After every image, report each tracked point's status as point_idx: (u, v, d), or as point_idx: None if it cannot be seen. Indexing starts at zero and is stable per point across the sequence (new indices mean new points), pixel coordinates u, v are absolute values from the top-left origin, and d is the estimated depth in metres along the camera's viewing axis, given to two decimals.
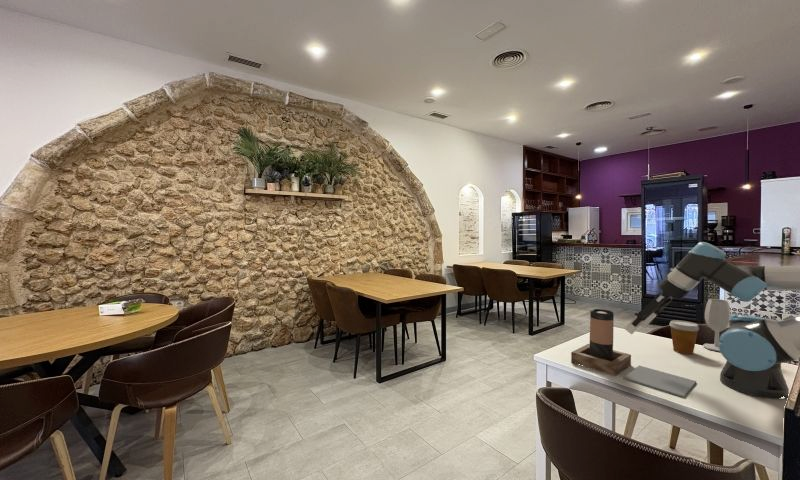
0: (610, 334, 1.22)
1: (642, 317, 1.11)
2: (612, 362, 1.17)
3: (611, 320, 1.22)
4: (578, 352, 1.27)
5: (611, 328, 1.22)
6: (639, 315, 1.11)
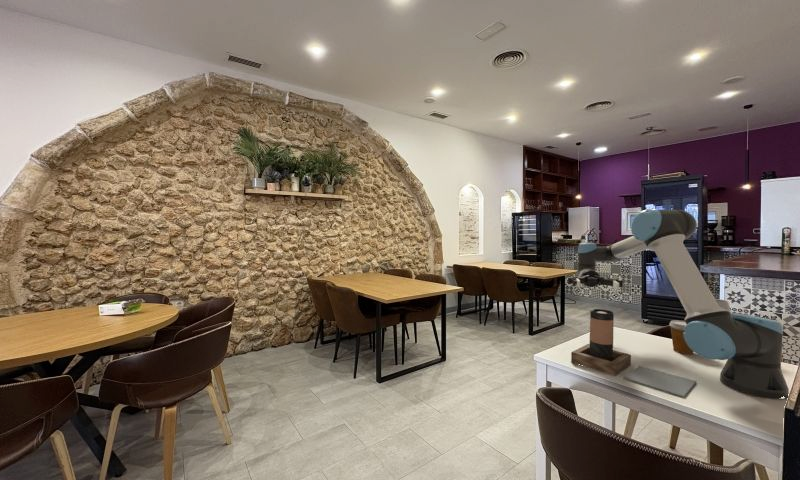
0: (610, 334, 1.22)
1: None
2: (612, 362, 1.17)
3: (611, 320, 1.22)
4: (578, 352, 1.27)
5: (611, 328, 1.22)
6: None
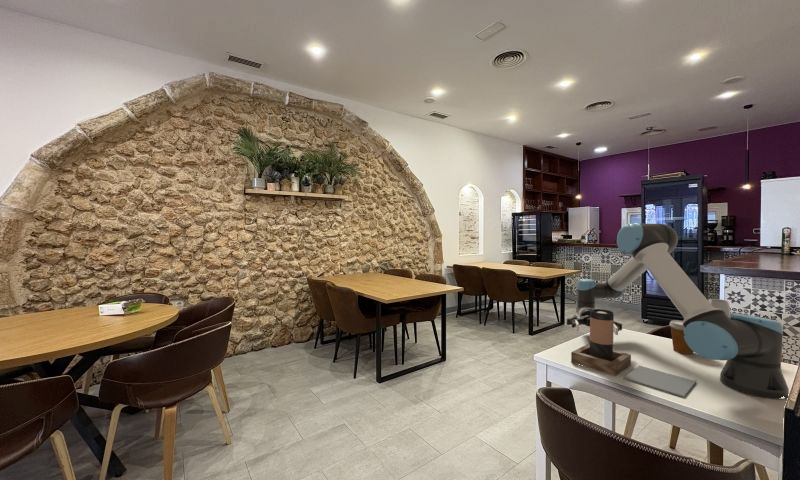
0: (610, 334, 1.22)
1: None
2: (612, 362, 1.17)
3: (611, 320, 1.22)
4: (578, 352, 1.27)
5: (611, 328, 1.22)
6: None
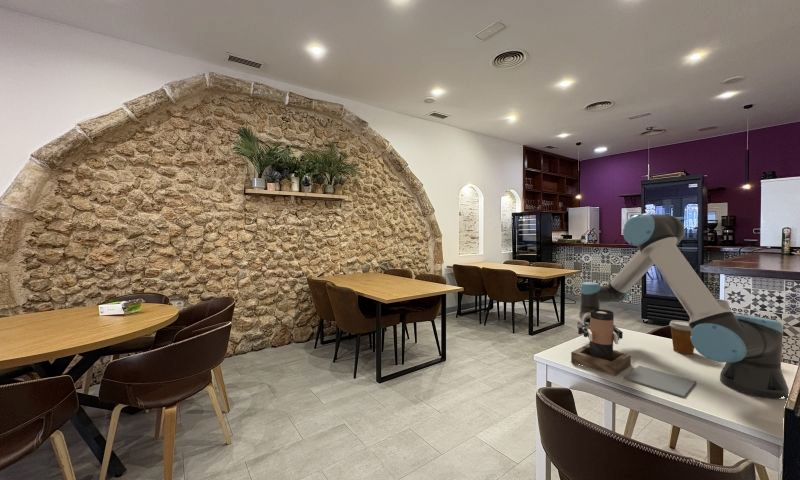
0: (610, 334, 1.22)
1: None
2: (612, 362, 1.17)
3: (611, 320, 1.22)
4: (578, 352, 1.27)
5: (611, 328, 1.22)
6: (578, 331, 1.31)
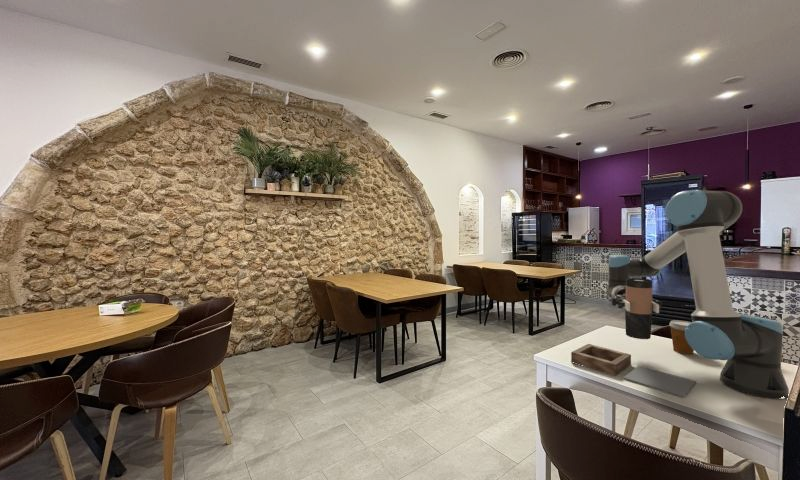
0: (650, 303, 1.13)
1: None
2: (612, 362, 1.17)
3: (650, 288, 1.13)
4: (578, 352, 1.27)
5: (650, 296, 1.13)
6: (612, 302, 1.22)
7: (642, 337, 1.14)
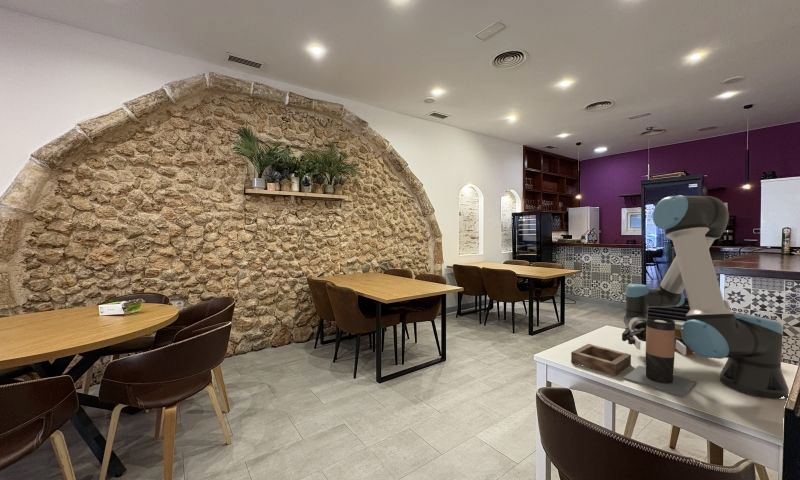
0: (672, 346, 1.08)
1: None
2: (612, 362, 1.17)
3: (673, 330, 1.08)
4: (578, 352, 1.27)
5: (673, 339, 1.08)
6: (622, 338, 1.19)
7: (664, 381, 1.08)
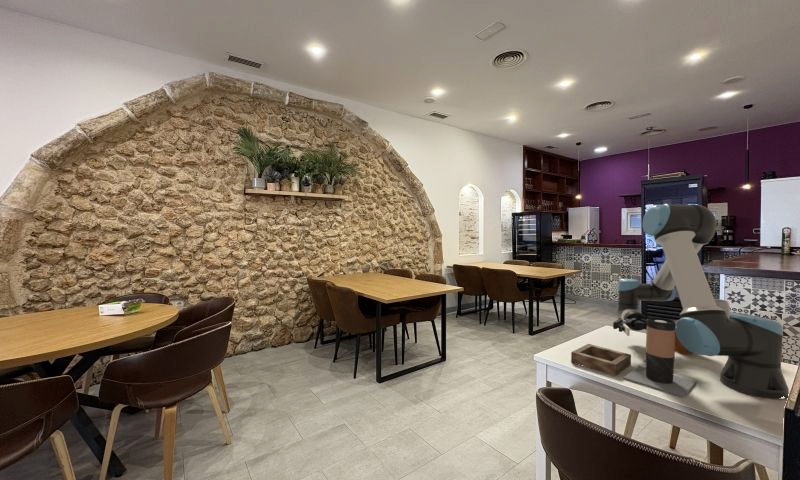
0: (672, 346, 1.08)
1: None
2: (612, 362, 1.17)
3: (673, 330, 1.08)
4: (578, 352, 1.27)
5: (673, 339, 1.08)
6: None
7: (664, 381, 1.08)
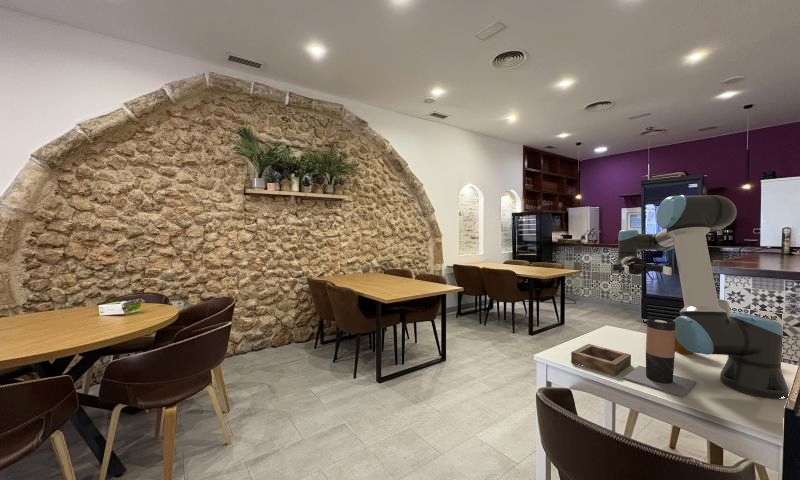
0: (672, 346, 1.08)
1: None
2: (612, 362, 1.17)
3: (673, 330, 1.08)
4: (578, 352, 1.27)
5: (673, 339, 1.08)
6: None
7: (664, 381, 1.08)
